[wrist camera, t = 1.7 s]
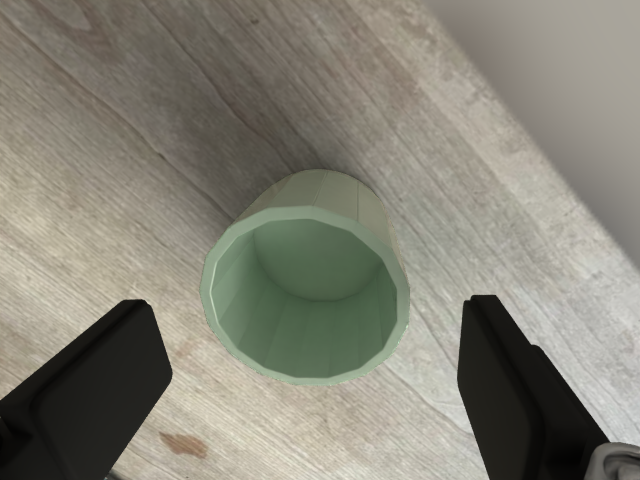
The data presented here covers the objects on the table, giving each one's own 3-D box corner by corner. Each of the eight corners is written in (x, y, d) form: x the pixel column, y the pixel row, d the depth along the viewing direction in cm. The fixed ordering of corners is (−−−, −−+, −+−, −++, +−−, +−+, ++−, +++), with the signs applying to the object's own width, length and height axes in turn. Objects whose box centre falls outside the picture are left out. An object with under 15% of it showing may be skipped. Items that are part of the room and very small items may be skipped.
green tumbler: (238, 174, 15) (177, 212, 10) (392, 163, 14) (412, 200, 9) (262, 302, 17) (223, 384, 12) (393, 300, 17) (408, 388, 12)
